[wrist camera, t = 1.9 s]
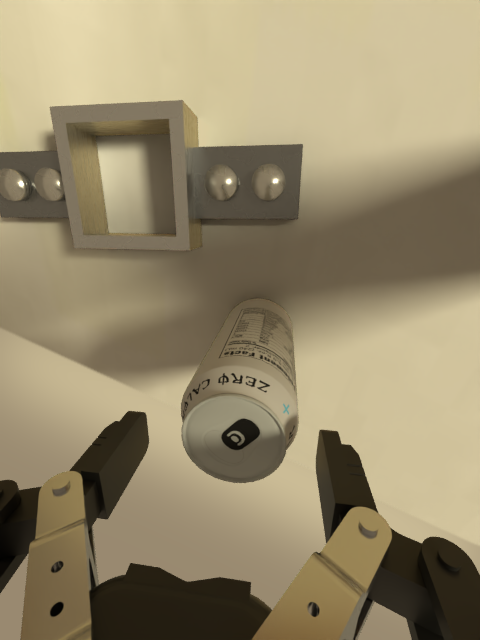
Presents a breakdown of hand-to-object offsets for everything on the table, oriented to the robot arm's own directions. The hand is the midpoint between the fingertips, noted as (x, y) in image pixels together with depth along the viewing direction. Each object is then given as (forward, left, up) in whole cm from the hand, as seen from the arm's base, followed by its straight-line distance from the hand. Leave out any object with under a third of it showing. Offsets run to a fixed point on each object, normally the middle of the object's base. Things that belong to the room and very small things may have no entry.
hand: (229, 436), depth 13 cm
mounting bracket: (+10, -12, -15) cm, 21 cm away
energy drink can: (0, 0, -15) cm, 15 cm away
